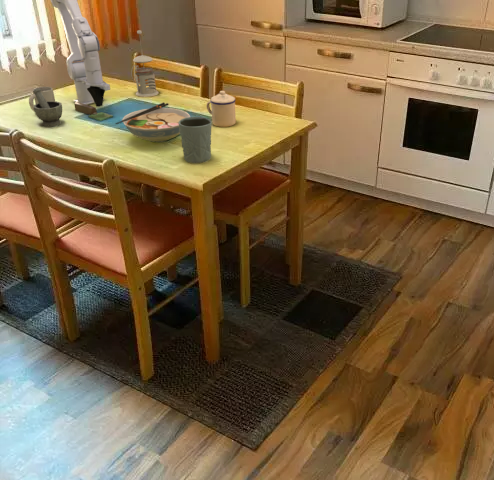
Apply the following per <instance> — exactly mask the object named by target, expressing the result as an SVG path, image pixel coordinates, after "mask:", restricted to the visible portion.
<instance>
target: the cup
mask: <svg viewBox="0 0 494 480" xmlns="http://www.w3.org/2000/svg"><path fill="white" fill-rule="evenodd" d="M35 89H41V93H42V95H43V96H44V98H45V100H46V102H47V101H56V97H55V93H54V89H53V87H52V86H38V87H34V88H32V90H31V91H32V94H31V95H29V98H28V105H29V107H30V109H31V111H33V112H34V113H35V111H34V105H35V104H38V103H39V102H38V100H37V98H36V95H35V94H34V93H33V91H34V90H35Z"/></svg>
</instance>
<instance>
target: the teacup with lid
mask: <svg viewBox="0 0 494 480" xmlns="http://www.w3.org/2000/svg"><path fill="white" fill-rule="evenodd" d="M210 106H211V107H210ZM206 110H207V112H208V113H209V114H210V115H211V122H212V125H214V126H215V127H221V128H225V127H226V128H227V127H232V126H234V125H236V123H237V118H236V97H235V96H233V95H230V94H228V93H226V91H225V90H220V91H219V93H217V94H216V95H214V96H212V97H211V98H210V99H209V101H207V102H206Z"/></svg>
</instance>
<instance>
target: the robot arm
mask: <svg viewBox="0 0 494 480" xmlns="http://www.w3.org/2000/svg"><path fill="white" fill-rule="evenodd" d="M50 2H51V4H52V7H54V8H56V9H57V11H58V14H59V16H60V20H61V23H62V27H63V30H64V32H65V37H66V41H67V44H68V47H69V51H70V54H69V56H68V57H67V58H66V61H65V64H66V70H67V74H68V76H69V78H70V79H71V80H73V82H74V88H75V93H76V99H73V102H74V103H77V102H80V103H83V104H86V105H92V104H95V106H96V108H97V107H98V108H101V107H103V104H104V100H105V98H104V96H105V93H106V92H107V91H110V90H111V85H110V84H109V83H107V82H105V80H104V78H103V73H102V66H101V60H100V54H99V52H100V49H101V46H100V41H99V37H98V36H97V34H95V32H93V31H92V28H91V26H90V23H89V22H88V19H87V18H86V17H84V16H83V15H82V12H81V8H80V5H79V3H78V0H50Z"/></svg>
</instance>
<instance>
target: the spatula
mask: <svg viewBox="0 0 494 480" xmlns="http://www.w3.org/2000/svg"><path fill="white" fill-rule="evenodd" d="M73 107H74V110H75V111H77V112H79V113H83V114H85V115H88V118H89V119H92V120H96V121H98V122H103V121H105V120H108V119H111V118H114V115H113V114H109V113H106V112H103V111H100V112H98V111H97V106H96V107H95V106H93V105H90V104H88V105H86V104H83V103H80V102H74V103H73Z"/></svg>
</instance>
